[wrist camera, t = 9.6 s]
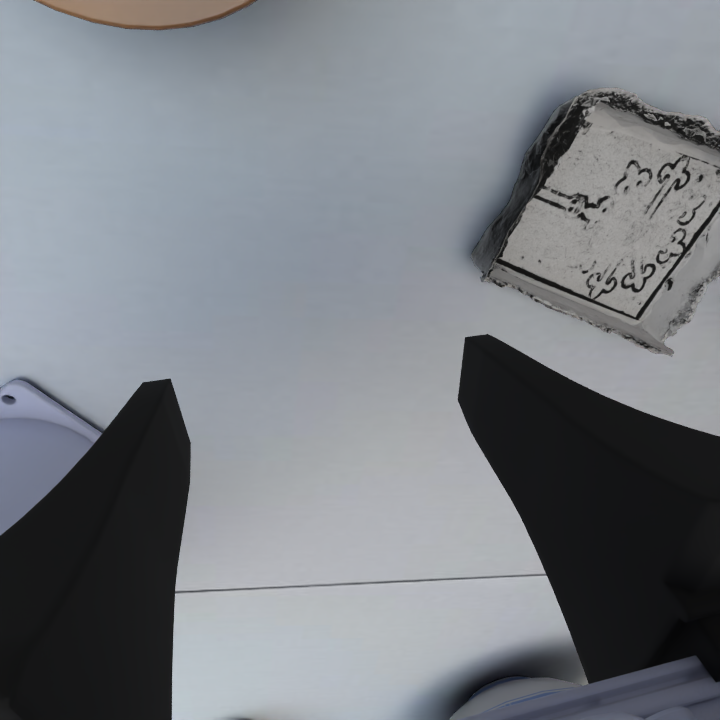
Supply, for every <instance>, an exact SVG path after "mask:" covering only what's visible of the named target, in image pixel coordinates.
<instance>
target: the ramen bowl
mask: <svg viewBox="0 0 720 720" xmlns="http://www.w3.org/2000/svg"><path fill="white" fill-rule="evenodd" d="M580 686H582V685H579V684H575V683H572V682H568V681H564V680H559V679H554V678H528V677H523V676H512V677H506V678H503V679H500V680H496V681H494V682H492V683H489V684H487V685H485V686H483V687H482V688H480V689H479V690H478V691H476V692H475V693H474V694H473V695H472V696H471V697H470V698H469V700H468V702H467V703H466V704H464V705H463V706H462V707H461V708H460V709H459V710H458V711H456V712H455V713H454V714H453V716H452V717H451V718H450V719H449V720H458V719H461V718H465V717H469V716H473V715H476V714H480V713H484V712H487V711H491V710H495V709H499V708H502V707H506V706H510V705H513V704H517V703H521V702H524V701H528V700H532V699H536V698H539V697H543V696H547V695H550V694H554V693H558V692H562V691H565V690H569V689H573V688H576V687H580Z"/></svg>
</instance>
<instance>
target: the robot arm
mask: <svg viewBox="0 0 720 720" xmlns="http://www.w3.org/2000/svg"><path fill="white" fill-rule="evenodd" d="M6 395H10V396H13V397H14V398H15V399H10V398H8V397H7V396H6ZM458 402H459V404H460V407H461V409H462V412H463V414H464V417H465V419H466V421H467V424H468V426H469V428H470V431H471V433H472V434H473V436H474V438H475V440H476V441H477V443H478V445H479V447H480V448H481V450H482V452H483V453H484V455H485V457H486V458H487V460H488V462H489V463H490V465H491V467H492V468H493V470H494V472H495V473H496V475H497V477H498V478H499V480H500V482H501V483H502V485H503V487H504V488H505V490H506V492H507V493H508V495H509V497H510V498H511V500H512V502H513V504H514V506H515V507H516V509H517V511H518V513H519V515H520V517H521V519H522V521H523V523H524V525H525V527H526V529H527V532H528V534H529V536H530V538H531V540H532V542H533V545H534V547H535V549H536V551H537V553H538V556H539V558H540V560H541V563H542V565H543V567H544V570H545V572H546V574H547V577H548V579H549V581H550V584H551V586H552V588H553V591H554V593H555V596H556V598H557V601H558V603H559V606H560V608H561V611H562V613H563V616H564V618H565V621H566V623H567V626H568V628H569V631H570V634H571V636H572V639H573V642H574V644H575V647H576V650H577V653H578V655H579V658H580V661H581V664H582V666H583V669H584V672H585V675H586V677H587V680H588V683H589V684H587V685H584V686H580V687H576V688H573V689H569V690H565V691H562V692H558V693H554V694H550V695H547V696H543V697H539V698H536V699H532V700H528V701H524V702H521V703H517V704H513V705H510V706H506V707H502V708H499V709H495V710H491V711H487V712H484V713H480V714H476V715H473V716H469V717H465V718H461V719H458V720H720V437H719V436H715V435H712V434H708V433H705V432H702V431H698V430H695V429H691V428H688V427H685V426H682V425H679V424H676V423H673V422H670V421H667V420H664V419H661V418H658V417H655V416H653V415H650V414H647V413H644V412H642V411H639V410H637V409H634V408H632V407H629V406H627V405H624V404H622V403H620V402H617V401H615V400H612V399H610V398H608V397H605V396H603V395H601V394H599V393H597V392H595V391H593V390H591V389H588V388H586V387H584V386H582V385H580V384H578V383H576V382H574V381H572V380H570V379H568V378H567V377H565V376H563V375H561V374H559V373H557V372H555V371H553V370H552V369H550V368H548V367H546V366H544V365H543V364H541V363H539V362H537V361H536V360H534V359H532V358H530V357H529V356H527V355H525V354H523V353H522V352H520V351H518V350H516V349H515V348H513V347H511V346H509V345H508V344H506V343H504V342H502V341H500V340H498V339H497V338H495V337H493V336H490V335H488V334H486V335H479V336H472V337H465V343H464V352H463V360H462V369H461V377H460V386H459V394H458ZM190 458H191V443H190V440H189V436H188V433H187V430H186V427H185V424H184V420H183V417H182V414H181V411H180V407H179V404H178V401H177V398H176V395H175V391H174V388H173V385H172V382H171V379H164V380H157V381H150V382H143V383H142V384H141V386H140V387H139V388H138V389H137V390H136V392H135V393H134V394H133V395H132V397H131V398H130V399H129V401H128V402H127V403H126V404H125V406H124V407H123V408H122V410H121V411H120V412H119V413H118V415H117V416H116V417H115V419H114V420H113V421H112V422H111V424H110V425H109V426H108V427H107V429H106V430H105V431H104V432H103V433H101V432H100V431H98V430H97V429H95V428H94V427H92V426H91V425H89V424H88V423H86V422H85V421H83V420H82V419H80V418H79V417H77V416H76V415H74V414H73V413H71V412H70V411H69V410H67V409H66V408H64V407H63V406H61V405H60V404H58V403H57V402H55V401H54V400H52V399H51V398H49V397H48V396H46V395H45V394H43V393H42V392H40V391H39V390H38V389H36V388H35V387H33V386H32V385H30V384H29V383H27V382H25V381H21V380H13V381H11V382H9V383H7V384H6V385H5V386H3V387H2V388H0V720H172V658H173V625H174V602H175V584H176V575H177V566H178V560H179V553H180V546H181V540H182V533H183V527H184V520H185V513H186V506H187V500H188V493H189V485H190Z"/></svg>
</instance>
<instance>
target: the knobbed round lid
mask: <svg viewBox="0 0 720 720" xmlns="http://www.w3.org/2000/svg"><path fill="white" fill-rule="evenodd" d="M34 1H36V2H39V3H41V4H43V5H45V6H47V7H49V8H52V9H54V10H56V11H59V12H62V13H65V14H68V15H71V16H74V17H77V18H80V19H83V20H87V21H90V22H93V23H98V24H103V25H109V26H114V27H119V28H125V29H140V30H168V29H177V28H187V27H194V26H198V25H201V24H205V23H209V22H212V21H216V20H220V19H222V18H225V17H227V16H229V15H231V14H233V13H235V12H238V11H240V10H242V9H244V8H246V7H248V6H250V5H251V4H253V3H254V2H256V1H257V0H34Z"/></svg>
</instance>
